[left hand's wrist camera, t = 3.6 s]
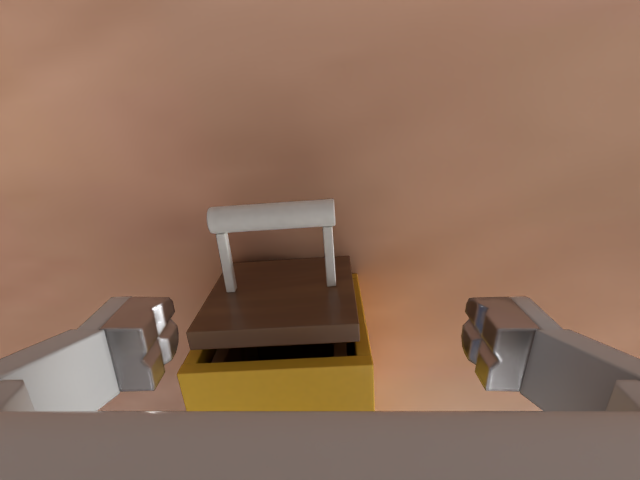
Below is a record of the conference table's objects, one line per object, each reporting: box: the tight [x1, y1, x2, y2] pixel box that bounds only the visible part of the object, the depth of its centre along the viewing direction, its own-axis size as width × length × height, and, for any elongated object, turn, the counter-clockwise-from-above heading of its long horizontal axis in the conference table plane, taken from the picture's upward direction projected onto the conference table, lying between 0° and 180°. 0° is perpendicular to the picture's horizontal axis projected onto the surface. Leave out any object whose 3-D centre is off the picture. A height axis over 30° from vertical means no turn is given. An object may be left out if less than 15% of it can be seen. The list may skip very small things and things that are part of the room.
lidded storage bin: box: [177, 273, 375, 411], centre depth 28 cm, size 19×11×11 cm, turn 4°
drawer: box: [186, 199, 360, 363], centre depth 26 cm, size 24×10×9 cm, turn 4°
